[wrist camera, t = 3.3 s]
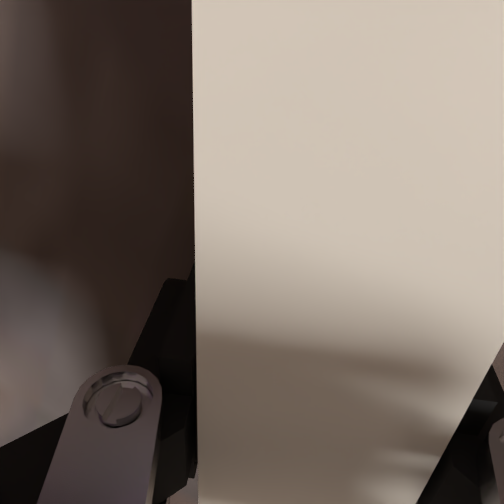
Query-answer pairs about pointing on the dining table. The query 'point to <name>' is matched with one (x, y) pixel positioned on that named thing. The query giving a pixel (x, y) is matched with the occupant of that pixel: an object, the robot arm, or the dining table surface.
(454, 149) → the white rectangular block
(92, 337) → the dining table surface
